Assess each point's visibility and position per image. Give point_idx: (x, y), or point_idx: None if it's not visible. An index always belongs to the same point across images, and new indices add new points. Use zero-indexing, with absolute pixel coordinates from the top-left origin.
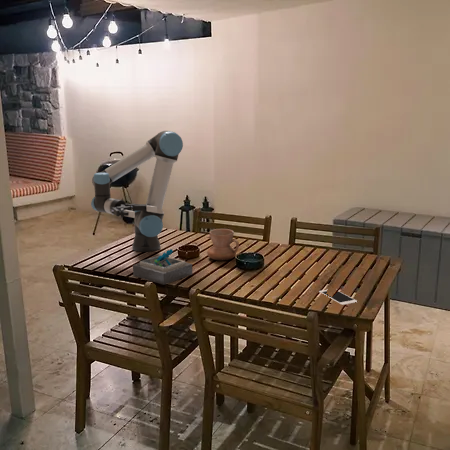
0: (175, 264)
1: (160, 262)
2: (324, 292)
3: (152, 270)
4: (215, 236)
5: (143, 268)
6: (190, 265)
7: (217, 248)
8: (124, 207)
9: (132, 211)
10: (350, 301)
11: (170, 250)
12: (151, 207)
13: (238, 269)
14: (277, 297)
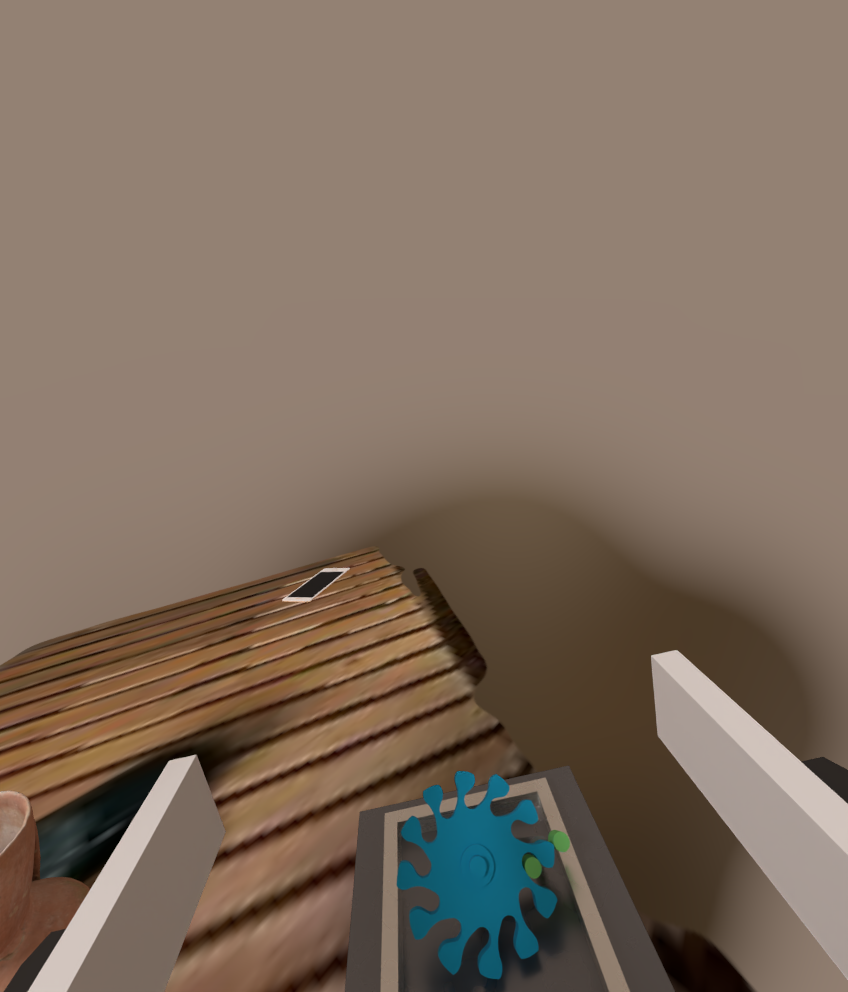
0: None
1: (531, 836)
2: (311, 595)
3: (605, 849)
4: (17, 850)
5: (655, 953)
6: (373, 814)
7: (28, 929)
8: None
9: (688, 671)
10: (330, 570)
11: (440, 787)
12: (140, 887)
13: (212, 785)
14: (384, 607)
